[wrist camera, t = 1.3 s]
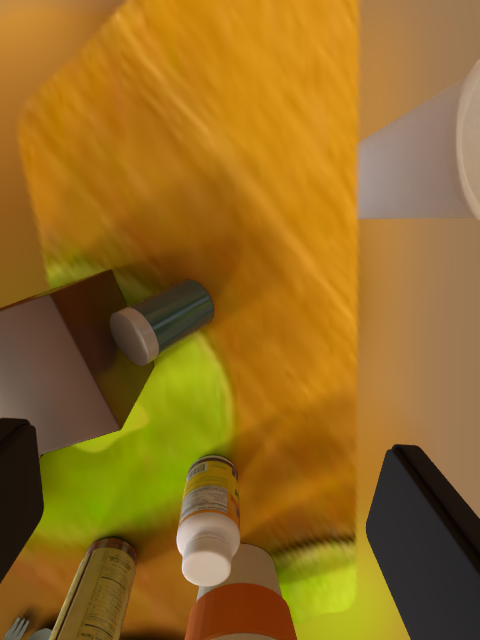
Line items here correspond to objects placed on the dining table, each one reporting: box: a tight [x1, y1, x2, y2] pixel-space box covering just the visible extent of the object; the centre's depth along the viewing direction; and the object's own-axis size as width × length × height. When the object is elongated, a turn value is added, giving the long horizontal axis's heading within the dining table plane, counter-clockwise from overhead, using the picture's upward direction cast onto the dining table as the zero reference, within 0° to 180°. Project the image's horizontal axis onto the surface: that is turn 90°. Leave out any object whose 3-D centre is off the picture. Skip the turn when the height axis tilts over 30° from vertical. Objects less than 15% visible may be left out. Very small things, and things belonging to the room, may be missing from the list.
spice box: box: [0, 270, 154, 455], centre depth 25 cm, size 8×10×10 cm
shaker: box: [110, 279, 214, 366], centre depth 26 cm, size 8×4×8 cm, turn 108°
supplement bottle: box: [177, 456, 240, 586], centre depth 30 cm, size 6×6×10 cm
